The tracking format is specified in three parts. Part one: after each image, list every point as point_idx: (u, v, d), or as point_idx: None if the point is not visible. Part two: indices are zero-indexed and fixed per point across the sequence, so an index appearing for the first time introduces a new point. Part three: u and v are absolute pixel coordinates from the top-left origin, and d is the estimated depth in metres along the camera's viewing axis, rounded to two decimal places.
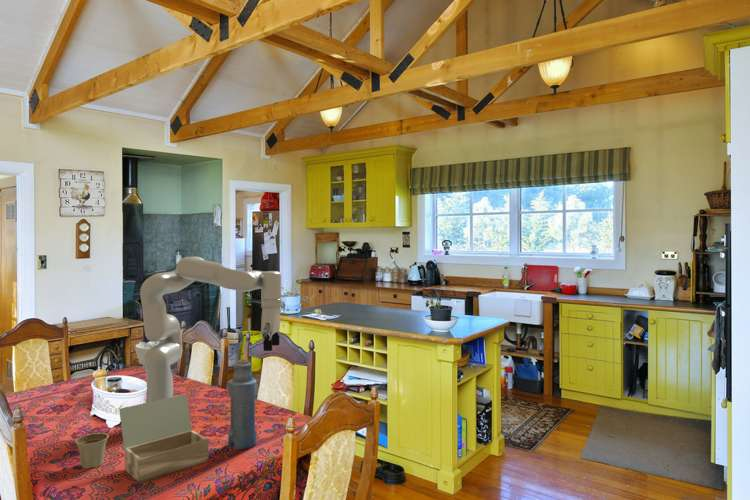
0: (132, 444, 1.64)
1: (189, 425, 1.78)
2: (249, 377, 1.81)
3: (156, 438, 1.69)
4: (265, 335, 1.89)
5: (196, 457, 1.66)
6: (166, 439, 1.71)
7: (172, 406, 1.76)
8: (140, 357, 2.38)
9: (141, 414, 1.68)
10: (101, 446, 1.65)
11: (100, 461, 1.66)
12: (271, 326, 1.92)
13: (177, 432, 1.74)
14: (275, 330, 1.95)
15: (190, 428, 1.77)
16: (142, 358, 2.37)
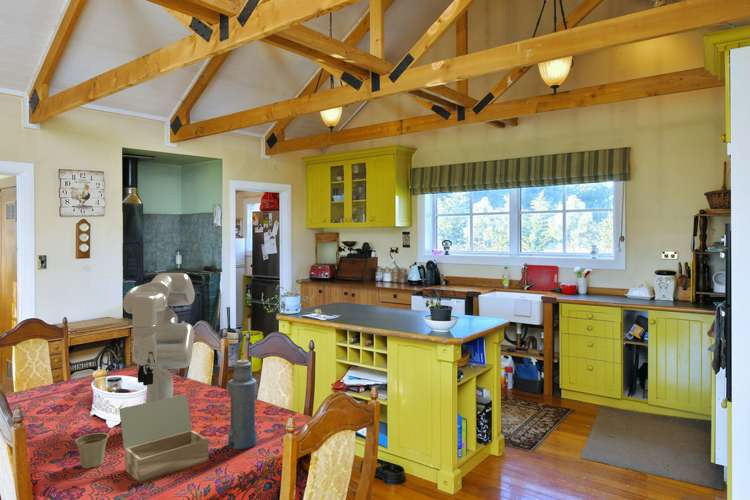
0: (132, 444, 1.64)
1: (189, 425, 1.78)
2: (249, 377, 1.81)
3: (156, 438, 1.69)
4: (151, 369, 1.74)
5: (196, 457, 1.66)
6: (166, 439, 1.71)
7: (172, 406, 1.76)
8: None
9: (141, 414, 1.68)
10: (101, 446, 1.65)
11: (100, 461, 1.66)
12: (155, 355, 1.75)
13: (177, 432, 1.74)
14: None
15: (190, 428, 1.77)
16: None
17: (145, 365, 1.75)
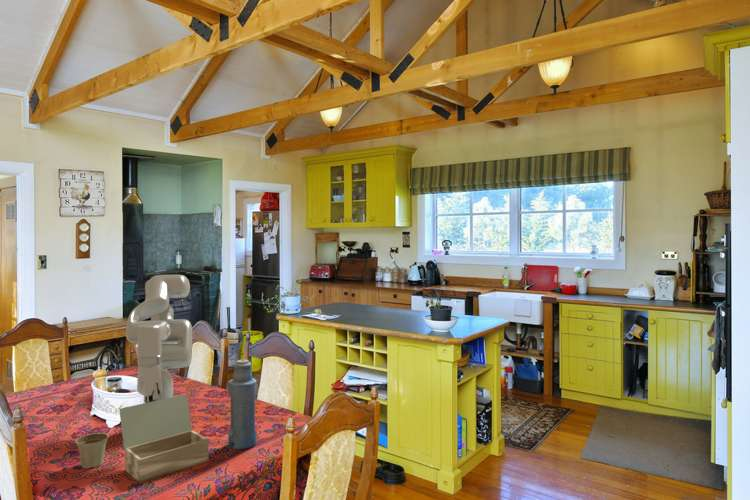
0: (132, 444, 1.64)
1: (189, 425, 1.78)
2: (249, 377, 1.81)
3: (156, 438, 1.69)
4: (154, 399, 1.73)
5: (196, 457, 1.66)
6: (166, 439, 1.71)
7: (172, 406, 1.76)
8: None
9: (141, 414, 1.68)
10: (101, 446, 1.65)
11: (100, 461, 1.66)
12: (160, 386, 1.72)
13: (177, 432, 1.74)
14: None
15: (190, 428, 1.77)
16: None
17: (149, 396, 1.73)
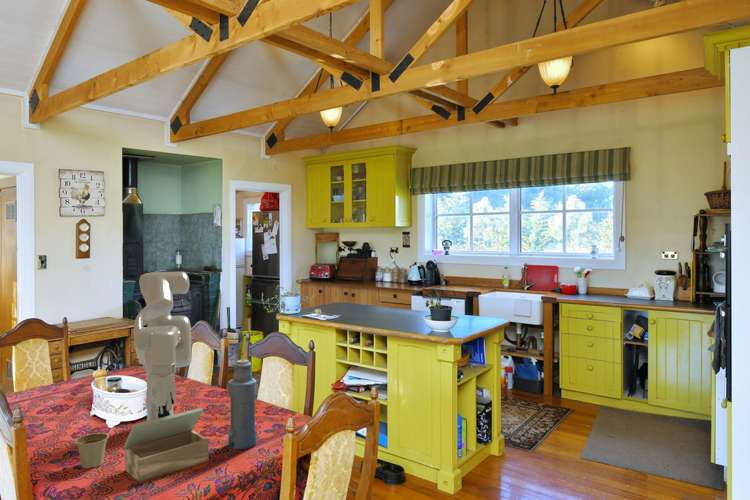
0: (133, 445, 1.63)
1: (191, 427, 1.76)
2: (249, 377, 1.81)
3: (157, 439, 1.69)
4: (167, 410, 1.65)
5: (196, 457, 1.66)
6: (166, 439, 1.71)
7: (184, 419, 1.69)
8: (140, 357, 2.38)
9: (152, 428, 1.62)
10: (101, 446, 1.65)
11: (100, 461, 1.66)
12: (174, 395, 1.65)
13: (177, 433, 1.74)
14: None
15: (191, 429, 1.77)
16: (142, 358, 2.37)
17: (162, 406, 1.65)
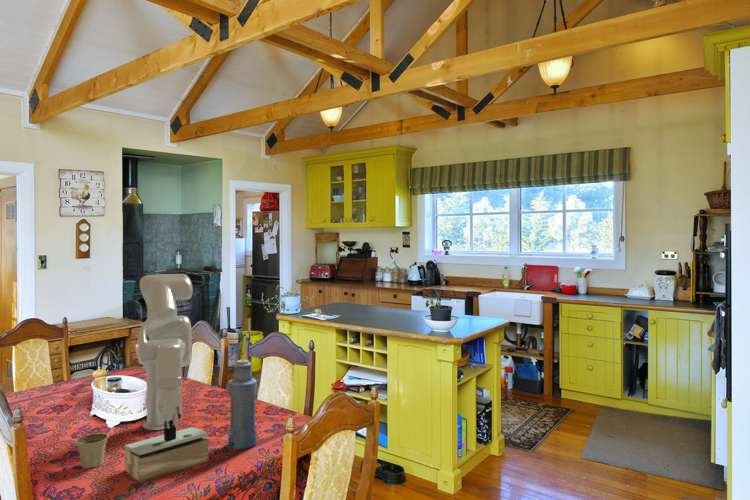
0: None
1: None
2: (249, 377, 1.81)
3: None
4: (174, 424, 1.61)
5: (196, 457, 1.66)
6: None
7: None
8: None
9: None
10: (101, 446, 1.65)
11: (100, 461, 1.66)
12: (180, 409, 1.61)
13: None
14: None
15: None
16: None
17: (169, 420, 1.61)
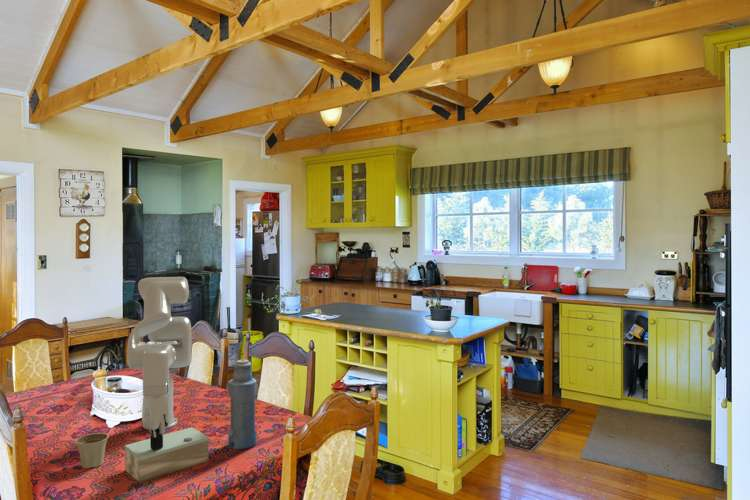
0: None
1: None
2: (249, 377, 1.81)
3: None
4: None
5: (196, 457, 1.66)
6: None
7: None
8: None
9: None
10: (101, 446, 1.65)
11: (100, 461, 1.66)
12: (167, 417, 1.56)
13: None
14: None
15: None
16: None
17: (155, 429, 1.57)
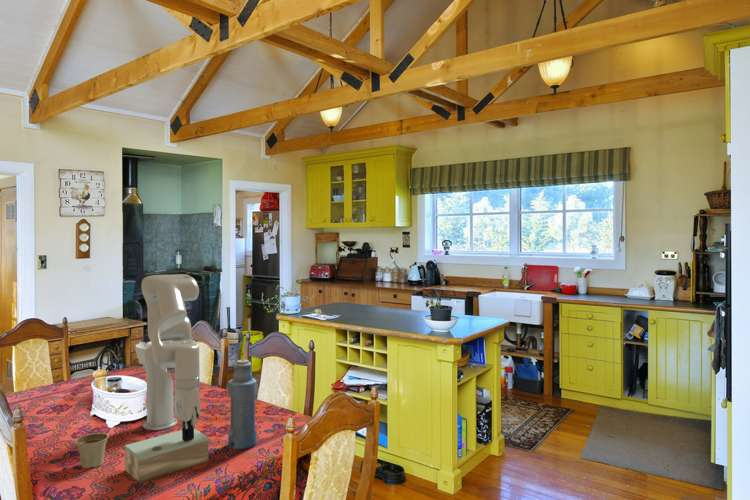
0: None
1: None
2: (249, 377, 1.81)
3: None
4: (192, 424, 1.64)
5: (196, 457, 1.66)
6: None
7: None
8: (140, 357, 2.38)
9: None
10: (101, 446, 1.65)
11: (100, 461, 1.66)
12: (199, 409, 1.63)
13: None
14: None
15: None
16: (142, 358, 2.37)
17: (187, 421, 1.64)
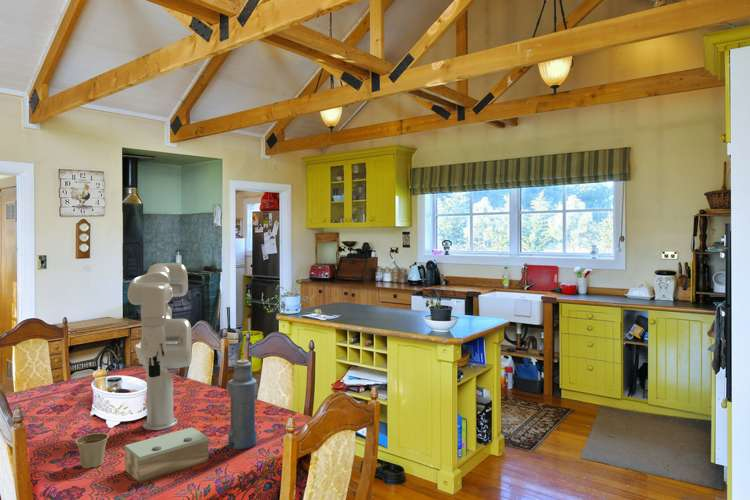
0: None
1: None
2: (249, 377, 1.81)
3: None
4: (158, 361, 1.70)
5: (196, 457, 1.66)
6: None
7: None
8: (140, 357, 2.38)
9: None
10: (101, 446, 1.65)
11: (100, 461, 1.66)
12: (164, 347, 1.70)
13: None
14: None
15: None
16: (142, 358, 2.37)
17: (153, 357, 1.70)
